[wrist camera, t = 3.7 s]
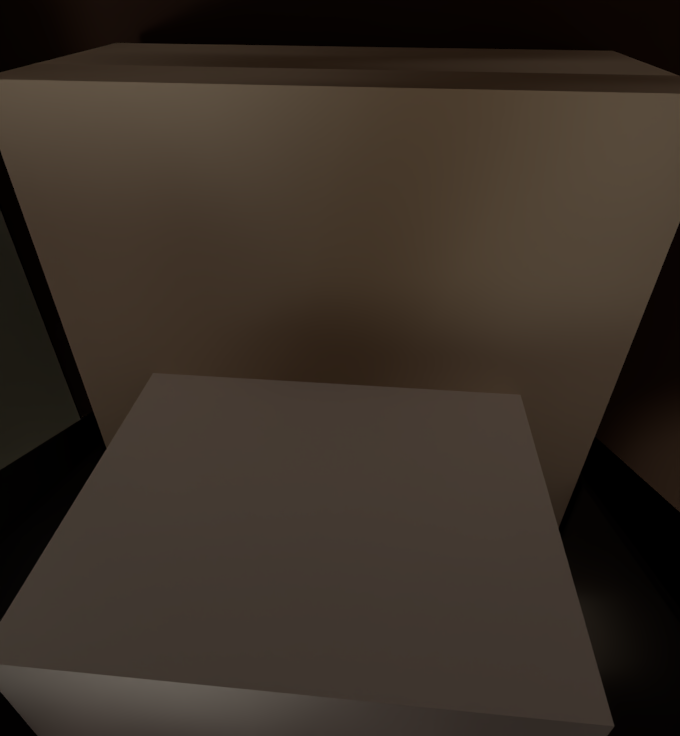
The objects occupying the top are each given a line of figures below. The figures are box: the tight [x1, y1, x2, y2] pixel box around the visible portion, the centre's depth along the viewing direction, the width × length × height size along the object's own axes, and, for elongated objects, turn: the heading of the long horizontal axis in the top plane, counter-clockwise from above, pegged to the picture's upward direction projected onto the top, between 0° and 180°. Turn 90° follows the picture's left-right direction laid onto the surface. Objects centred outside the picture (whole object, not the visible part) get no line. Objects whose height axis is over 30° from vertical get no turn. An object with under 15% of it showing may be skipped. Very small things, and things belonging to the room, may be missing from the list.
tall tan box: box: [0, 43, 680, 528], centre depth 9 cm, size 6×11×3 cm, turn 0°
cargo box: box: [0, 373, 614, 736], centre depth 6 cm, size 4×4×4 cm
